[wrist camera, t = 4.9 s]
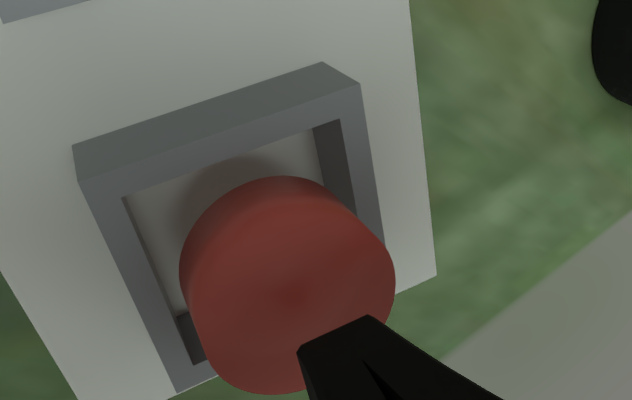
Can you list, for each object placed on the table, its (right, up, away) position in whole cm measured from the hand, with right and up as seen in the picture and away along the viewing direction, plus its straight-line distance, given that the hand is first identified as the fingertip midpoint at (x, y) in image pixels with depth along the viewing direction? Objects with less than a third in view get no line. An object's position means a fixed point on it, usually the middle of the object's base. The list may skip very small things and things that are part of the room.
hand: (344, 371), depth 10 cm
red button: (-1, +2, +3) cm, 4 cm away
